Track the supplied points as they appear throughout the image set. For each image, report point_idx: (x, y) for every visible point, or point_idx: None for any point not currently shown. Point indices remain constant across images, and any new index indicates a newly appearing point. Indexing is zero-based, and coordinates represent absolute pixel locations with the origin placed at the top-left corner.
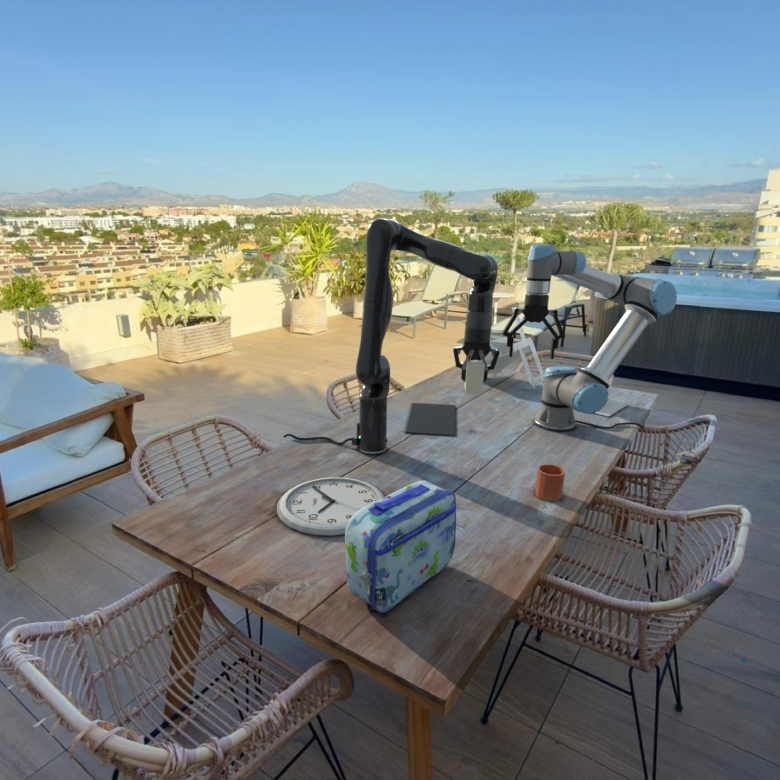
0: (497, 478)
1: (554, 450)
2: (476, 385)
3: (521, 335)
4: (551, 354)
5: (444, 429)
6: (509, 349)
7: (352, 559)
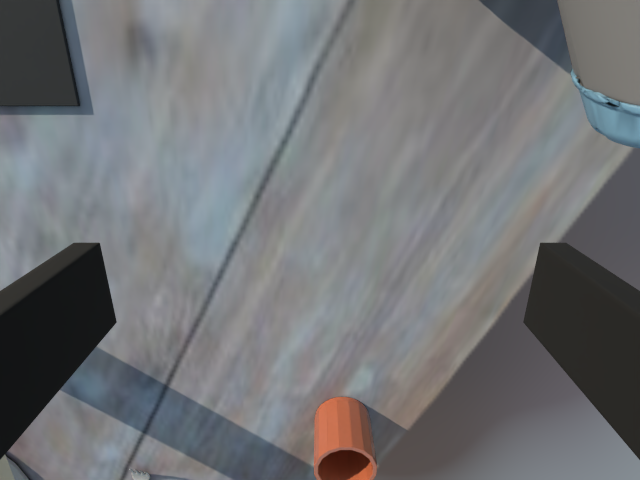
0: (236, 367)
1: (417, 180)
2: None
3: None
4: (549, 342)
5: (27, 51)
6: (28, 278)
7: None
